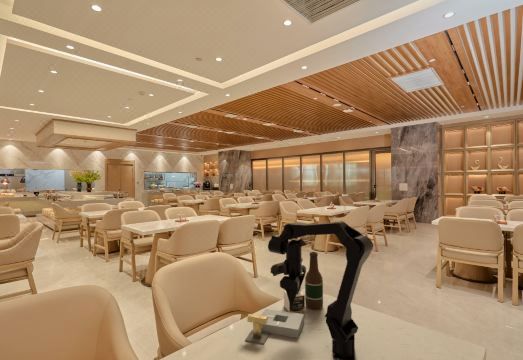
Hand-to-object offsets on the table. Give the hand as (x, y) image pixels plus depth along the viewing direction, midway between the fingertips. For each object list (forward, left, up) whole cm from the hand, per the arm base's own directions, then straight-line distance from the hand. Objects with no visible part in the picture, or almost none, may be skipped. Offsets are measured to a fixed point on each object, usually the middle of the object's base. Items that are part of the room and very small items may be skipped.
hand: (294, 298), depth 103 cm
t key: (+12, +7, -12) cm, 18 cm away
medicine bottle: (+4, -19, -13) cm, 23 cm away
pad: (+12, +7, -12) cm, 19 cm away
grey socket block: (+6, -3, -12) cm, 14 cm away
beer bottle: (-4, -24, -13) cm, 27 cm away
